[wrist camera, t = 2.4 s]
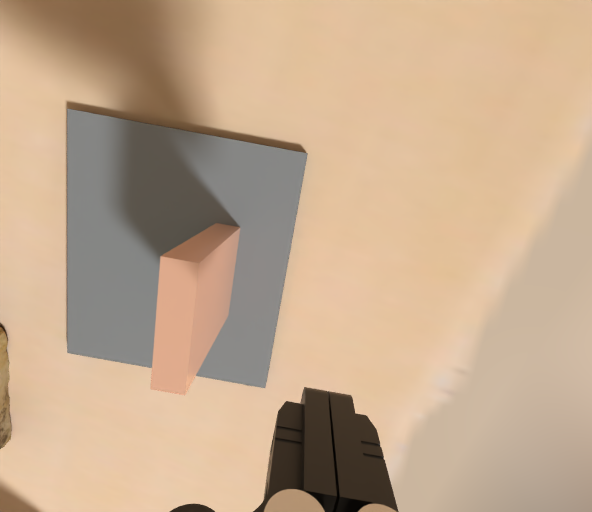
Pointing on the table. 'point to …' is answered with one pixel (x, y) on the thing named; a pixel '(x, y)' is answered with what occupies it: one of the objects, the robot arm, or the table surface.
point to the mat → (173, 235)
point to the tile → (192, 305)
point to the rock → (4, 392)
